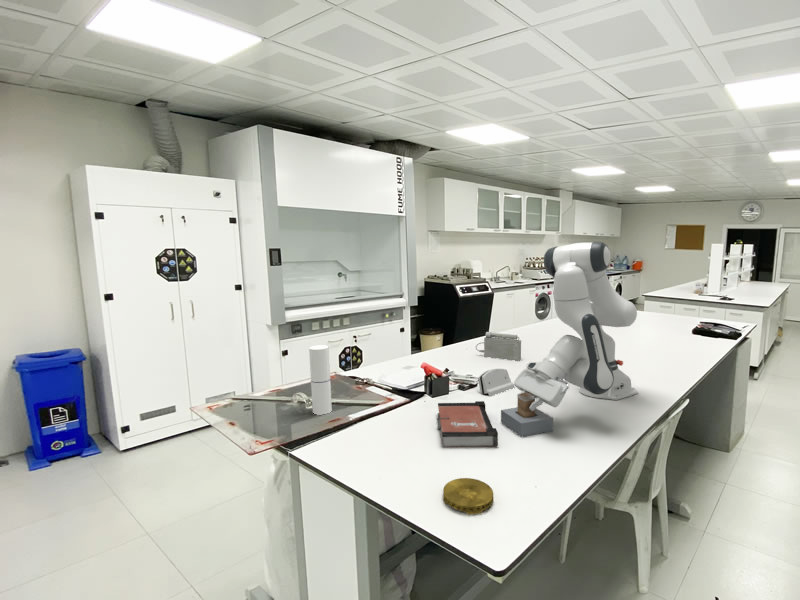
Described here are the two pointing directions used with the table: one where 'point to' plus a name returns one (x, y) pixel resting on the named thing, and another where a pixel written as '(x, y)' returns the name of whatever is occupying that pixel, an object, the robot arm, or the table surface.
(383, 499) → the table surface
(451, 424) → the book
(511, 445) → the table surface
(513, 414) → the socket block
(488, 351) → the geiger counter
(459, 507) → the gold round disc
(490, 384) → the hinge
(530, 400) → the peg
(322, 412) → the cylindrical container
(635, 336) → the table surface
